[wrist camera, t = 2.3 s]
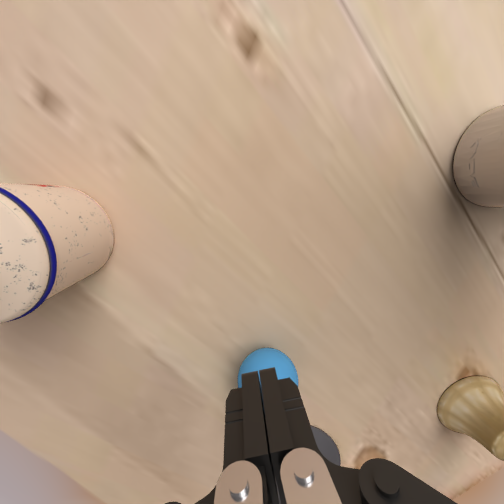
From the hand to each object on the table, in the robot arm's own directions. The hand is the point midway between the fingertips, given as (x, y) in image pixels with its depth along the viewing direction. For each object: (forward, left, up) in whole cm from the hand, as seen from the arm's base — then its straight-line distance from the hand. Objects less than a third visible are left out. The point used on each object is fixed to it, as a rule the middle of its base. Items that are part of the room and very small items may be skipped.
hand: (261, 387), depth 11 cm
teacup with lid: (+17, -7, -15) cm, 24 cm away
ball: (0, +10, -12) cm, 16 cm away
